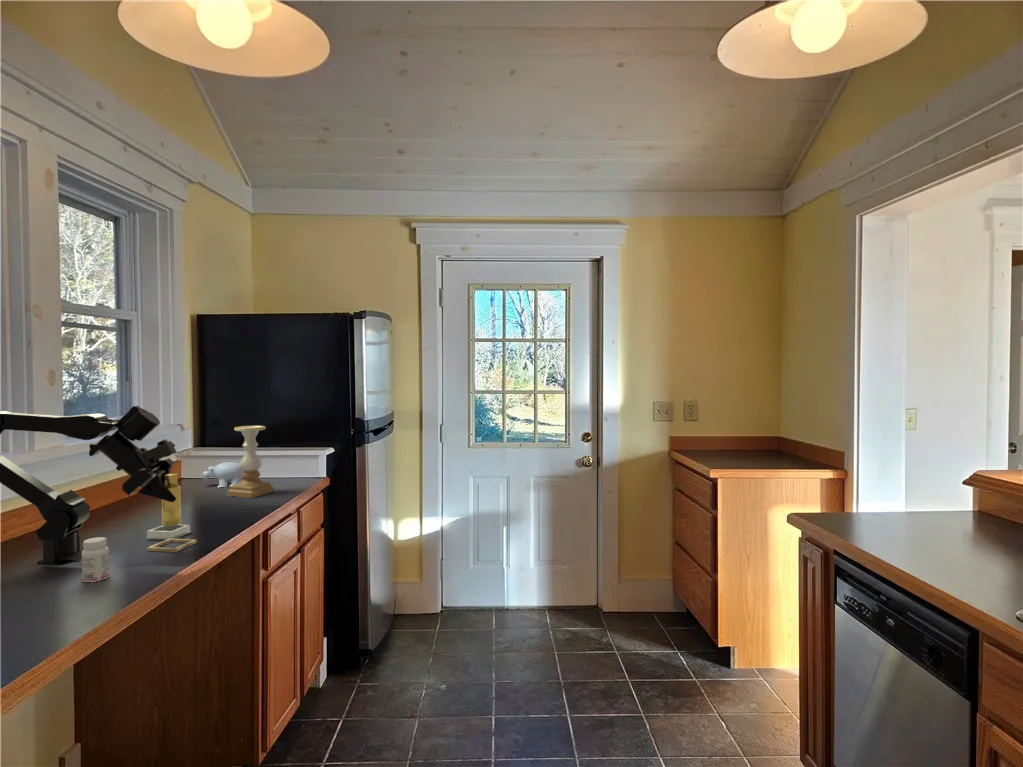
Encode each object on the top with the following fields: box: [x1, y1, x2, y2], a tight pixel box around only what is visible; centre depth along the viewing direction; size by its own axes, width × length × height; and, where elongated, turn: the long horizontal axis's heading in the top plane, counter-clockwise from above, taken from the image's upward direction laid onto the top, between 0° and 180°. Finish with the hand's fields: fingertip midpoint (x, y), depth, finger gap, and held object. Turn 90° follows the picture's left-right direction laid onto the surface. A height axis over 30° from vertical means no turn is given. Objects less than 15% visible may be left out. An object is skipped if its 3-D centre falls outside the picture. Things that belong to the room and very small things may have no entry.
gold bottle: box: [161, 473, 182, 526], centre depth 140 cm, size 4×4×12 cm
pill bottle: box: [81, 536, 111, 583], centre depth 123 cm, size 5×5×8 cm
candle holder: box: [226, 425, 275, 499], centre depth 204 cm, size 11×11×24 cm
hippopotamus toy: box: [201, 461, 244, 489], centre depth 219 cm, size 11×15×10 cm
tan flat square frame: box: [146, 538, 198, 553], centre depth 140 cm, size 8×8×2 cm
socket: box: [146, 523, 192, 541], centre depth 149 cm, size 7×7×4 cm
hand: (177, 498), depth 140 cm, fingers closed on gold bottle, 4 cm apart
